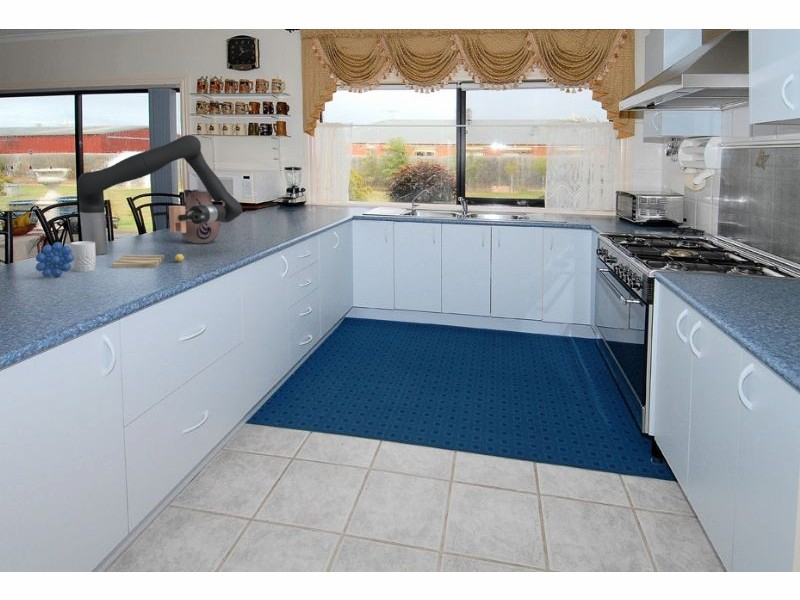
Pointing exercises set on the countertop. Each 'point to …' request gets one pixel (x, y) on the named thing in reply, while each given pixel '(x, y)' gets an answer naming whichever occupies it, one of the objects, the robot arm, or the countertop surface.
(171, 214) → the salmon octagonal post
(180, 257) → the mustard ball
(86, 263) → the white cup
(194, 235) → the ceramic pitcher
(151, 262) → the oak board
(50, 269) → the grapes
